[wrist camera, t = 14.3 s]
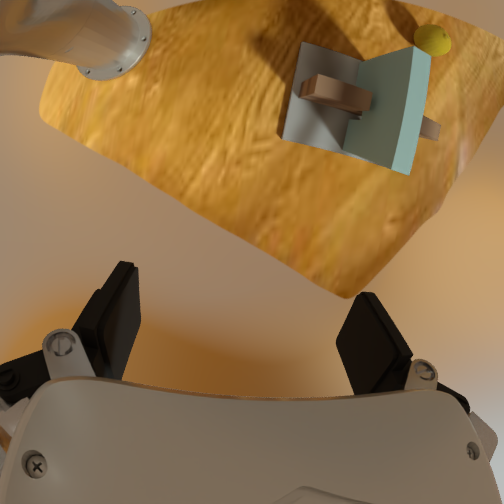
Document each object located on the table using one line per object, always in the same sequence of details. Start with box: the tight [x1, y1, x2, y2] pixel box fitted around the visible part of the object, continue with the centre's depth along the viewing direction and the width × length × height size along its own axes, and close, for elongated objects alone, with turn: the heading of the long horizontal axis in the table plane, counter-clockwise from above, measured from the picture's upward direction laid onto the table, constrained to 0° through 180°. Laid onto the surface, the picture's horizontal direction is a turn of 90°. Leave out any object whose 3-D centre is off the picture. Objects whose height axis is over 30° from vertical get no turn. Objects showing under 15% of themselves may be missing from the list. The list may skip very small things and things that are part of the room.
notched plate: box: [342, 46, 431, 175], centre depth 27 cm, size 14×2×14 cm, turn 170°
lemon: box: [414, 24, 451, 57], centre depth 25 cm, size 6×6×8 cm
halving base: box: [281, 42, 441, 167], centre depth 30 cm, size 20×15×9 cm
